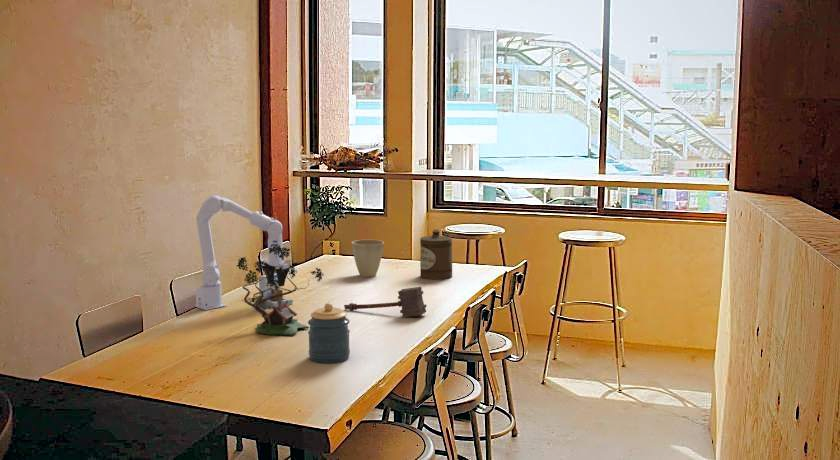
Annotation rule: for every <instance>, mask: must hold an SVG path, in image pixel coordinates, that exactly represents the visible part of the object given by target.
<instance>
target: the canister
mask: <svg viewBox="0 0 840 460" xmlns="http://www.w3.org/2000/svg"><path fill="white" fill-rule="evenodd" d="M347 315H348V313H347V312H346V311H345V310H343V309H341V308H338V307H334V306H333V304H332V303H330V302H327V303H325V304H324V306H323V307H319V308H317V309H315V310H314V311H313V312H311V313H310V317H311V318H310V319H309V320H307V324H308V325H309V330H308V357H309V360H310V361H312V362H315V363H318V364H319V363H322V364H335V363H340V362H343V361H346V360H348V359H349V358H350V354H351V351H350V350H351V349H350V332H351V331H350V329H349V323H350V319H349V318H347Z"/></svg>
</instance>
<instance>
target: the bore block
mask: <svg viewBox="0 0 840 460" xmlns="http://www.w3.org/2000/svg"><path fill="white" fill-rule="evenodd" d="M286 300H287V301H288V303H287V305H288V306H293V304H294V303H293V302H294V301H293V299H291V298H288V297H284V296H283V300H281V301H283V303H282V305H283V304H284V303H285V302H286ZM273 306H274V307H275V306H276V307H278V303H277V301H276V302H274V301H271V299H270V300H267V308H271V309H273Z"/></svg>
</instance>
